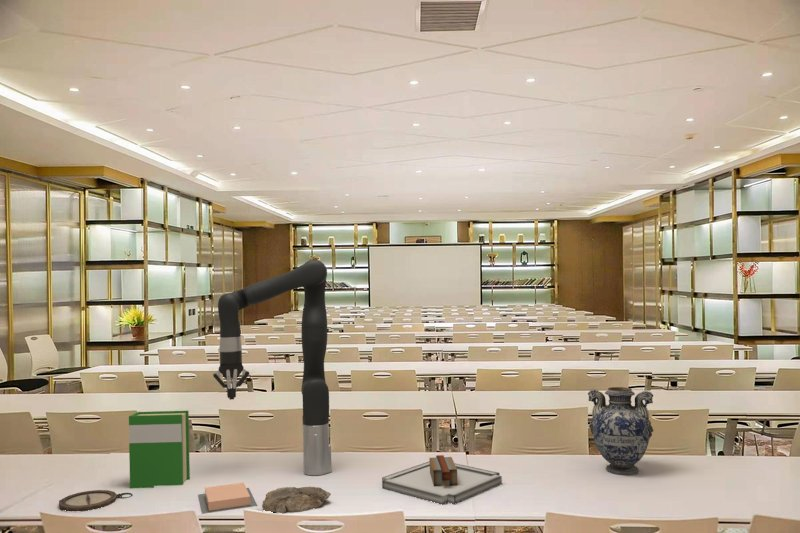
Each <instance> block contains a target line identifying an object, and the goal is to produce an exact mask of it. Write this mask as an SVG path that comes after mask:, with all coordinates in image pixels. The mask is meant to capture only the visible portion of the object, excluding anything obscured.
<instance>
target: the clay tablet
mask: <svg viewBox="0 0 800 533" xmlns="http://www.w3.org/2000/svg"><path fill="white" fill-rule="evenodd" d="M330 497H331V492H329V491H326V490H325V489H323V488H321V487H320V486H319V487H318V486H317V487H316V486H303V487H295V486H289V487H288V486H285V487H277V488H276V489H273V490H270V491H269V492H267V493H266V494H265V497H264V500H263V501H262V504H261V506H262V507H261V508H262V510H265V511H271V512H285V513H287V512H288V513H294V512H295V513H296V512H307V511H309V510H314V509H313V508H315V509H317V508H320V507H321V506H323V504H324V503H325V501H326V500H328V499H329V498H330ZM308 509H309V510H308Z"/></svg>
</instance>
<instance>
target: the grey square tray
mask: <svg viewBox="0 0 800 533" xmlns="http://www.w3.org/2000/svg"><path fill="white" fill-rule="evenodd" d="M502 479H503V476H502V475H500V472H497V471H492V470H487V469H483V468H478V467H474V466H469V465H464V464H461V463H455V462H454V459H453V457H452V456H444V455H443V454H441V455H440V454H439V455H435V457H429V460H428V461H426V462H423V463H420V464H418V465H415V466H411V467H408V468H405V469H402V470H400V471H397V472H394V473H391V474H388V475H385V476H382V477H381V482H382V483H381V486H382V489H384V490H387V491H391V492H393V493H398V494H401V495H404V496H408V497H412V498H415V497H416V499H419V498H420V500H423V499H424V501H426V500H428V501H427V502H430V501H432V502H431V503H434V502H435V503H434V504H437V503H439V504H438V505H441V504H442V505H441V506H444V505H445V503H446V504H451V503H452V504H451V505H456V504H455V503H457V504H458V502H459V503H461V502H463V501H465V499H466V500H468V499H470V498H472V497H475V496H477V495H479V494H481V493H484V492H486V491H489V490H491V489H493V488H496V487H497V486H500V485H502V484H503V482H502ZM469 497H470V498H469ZM467 498H468V499H467ZM462 500H463V501H462ZM460 501H461V502H460ZM447 502H449V503H447Z"/></svg>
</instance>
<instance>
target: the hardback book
mask: <svg viewBox="0 0 800 533" xmlns="http://www.w3.org/2000/svg"><path fill="white" fill-rule="evenodd" d="M189 412H190V411H189V410H163V411H162V410H159V411H156V410H155V411H152V410H151V411H137V412H134V413H132V414H130V415H129V416H128V436H129V437H128V444H129V445H128V448H129V452H128V453H129V459H128V460H129V489H152V488H153V489H154V488H155V487H158V486H159V487H161V486H162V487H163V486H165V487H166V486H183V485H184V482H185V481H188V480H190V479H191V476H190V475H191V474H190V473H191V472H190V471H191V469H190V426H189V425H190V423H189V422H190V421H189V415H190V414H189Z"/></svg>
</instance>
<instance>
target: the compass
mask: <svg viewBox="0 0 800 533" xmlns="http://www.w3.org/2000/svg"><path fill="white" fill-rule="evenodd" d="M123 495H124V496H123ZM125 495H129V496H125ZM133 496H134V495H133V493H131V492H122V493H118V494H117V493H116V492H115V491H112V490H107V489H96V490H95V489H94V490H85V491H81V492H76V493H73V494H69V495H67V496H65V497H63V498H61V499H60V500H59V501H58V507H60V508H59V509H60V510H61V511H63V510H66V511H65V512H67V511H81V512H89V511H93V509H94V510H99V509H101V507H102V508H104V507H107V506H110V505H112V504H113V503H115V502H116V500H117V499H127V498H132V497H133ZM98 508H99V509H98ZM88 510H89V511H88Z"/></svg>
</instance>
